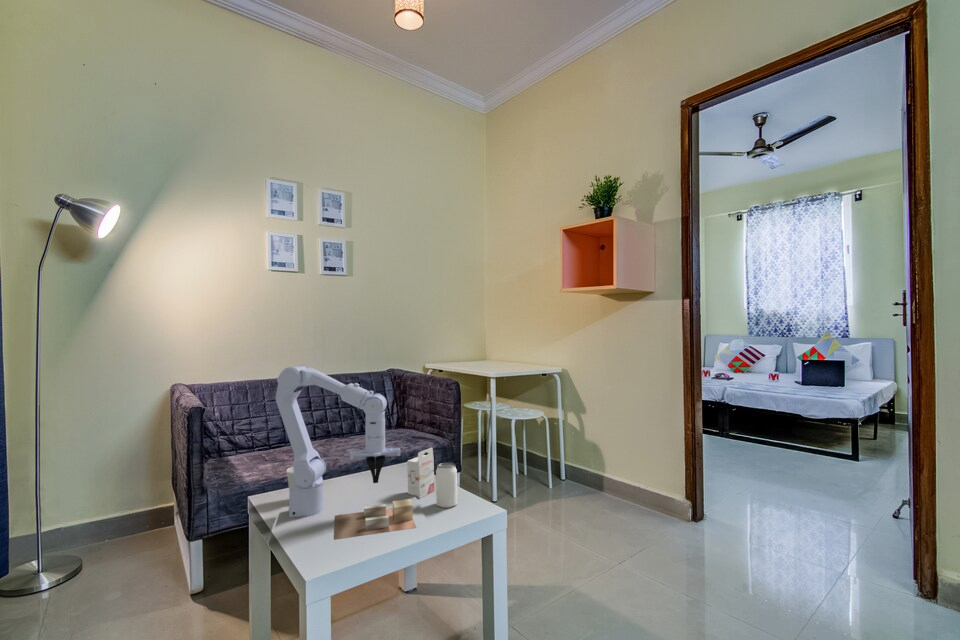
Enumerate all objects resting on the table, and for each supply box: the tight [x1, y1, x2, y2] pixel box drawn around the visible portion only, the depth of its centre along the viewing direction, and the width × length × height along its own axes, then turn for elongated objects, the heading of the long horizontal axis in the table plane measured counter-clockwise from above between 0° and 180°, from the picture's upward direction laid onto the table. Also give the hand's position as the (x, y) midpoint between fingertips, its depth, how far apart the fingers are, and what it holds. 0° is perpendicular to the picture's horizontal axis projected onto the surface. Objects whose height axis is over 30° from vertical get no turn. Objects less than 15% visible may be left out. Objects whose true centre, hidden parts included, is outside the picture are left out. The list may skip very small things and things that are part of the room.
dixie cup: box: [285, 466, 297, 493], centre depth 144 cm, size 8×8×10 cm
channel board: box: [333, 503, 417, 541], centre depth 124 cm, size 21×16×4 cm
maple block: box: [392, 498, 414, 522], centre depth 126 cm, size 5×5×4 cm
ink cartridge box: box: [406, 446, 435, 499], centre depth 148 cm, size 9×5×15 cm, turn 151°
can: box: [435, 462, 458, 509], centre depth 138 cm, size 6×6×12 cm
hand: (375, 482), depth 132 cm, fingers closed
